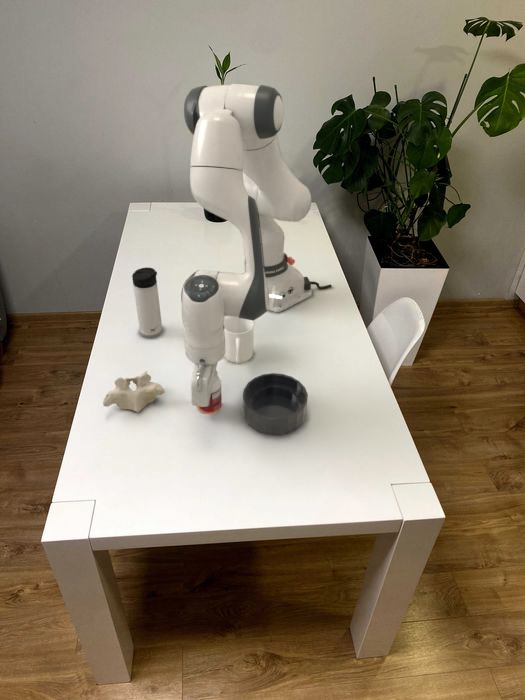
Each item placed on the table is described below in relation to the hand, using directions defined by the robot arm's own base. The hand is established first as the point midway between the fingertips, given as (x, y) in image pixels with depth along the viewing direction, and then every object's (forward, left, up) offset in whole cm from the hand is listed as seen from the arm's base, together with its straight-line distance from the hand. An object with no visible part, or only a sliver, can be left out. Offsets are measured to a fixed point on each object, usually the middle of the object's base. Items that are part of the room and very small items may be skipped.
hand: (208, 391), depth 128 cm
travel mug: (0, -36, -7) cm, 36 cm away
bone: (+13, -11, -7) cm, 19 cm away
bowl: (-14, +8, -7) cm, 17 cm away
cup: (-16, -14, -7) cm, 22 cm away
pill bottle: (0, 0, -5) cm, 5 cm away
